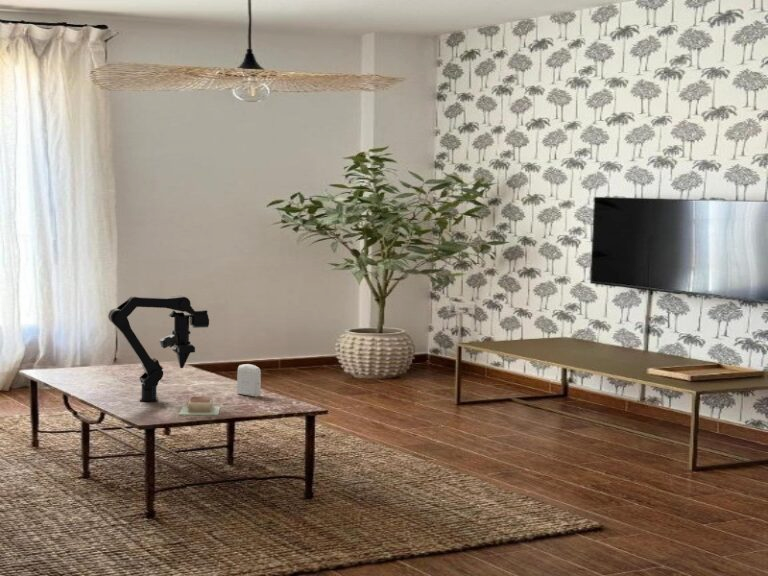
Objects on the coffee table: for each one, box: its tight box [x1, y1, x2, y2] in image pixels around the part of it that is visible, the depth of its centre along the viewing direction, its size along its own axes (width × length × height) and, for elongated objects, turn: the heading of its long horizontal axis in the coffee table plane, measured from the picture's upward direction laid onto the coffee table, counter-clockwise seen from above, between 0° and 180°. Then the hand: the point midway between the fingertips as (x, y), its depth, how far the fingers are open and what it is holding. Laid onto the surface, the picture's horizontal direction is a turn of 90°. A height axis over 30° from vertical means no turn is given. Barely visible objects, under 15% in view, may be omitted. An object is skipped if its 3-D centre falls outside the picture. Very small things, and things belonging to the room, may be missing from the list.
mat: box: [179, 406, 221, 416], centre depth 426 cm, size 14×14×1 cm
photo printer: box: [236, 363, 262, 398], centre depth 460 cm, size 10×4×12 cm, turn 56°
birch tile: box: [187, 396, 213, 413], centre depth 427 cm, size 4×8×12 cm
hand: (181, 367), depth 449 cm, fingers closed
